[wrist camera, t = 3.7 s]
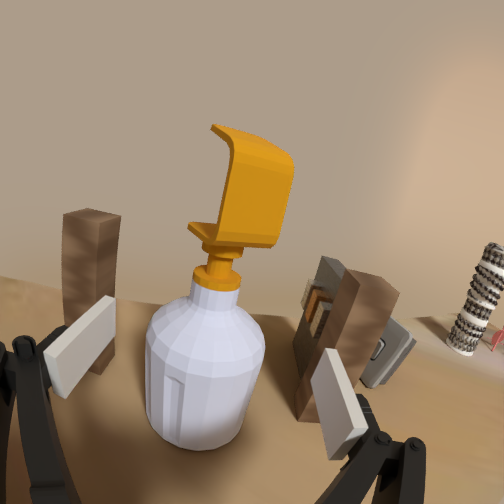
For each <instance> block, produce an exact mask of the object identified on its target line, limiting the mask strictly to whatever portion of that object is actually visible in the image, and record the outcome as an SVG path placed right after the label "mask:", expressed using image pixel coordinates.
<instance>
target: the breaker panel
mask: <svg viewBox="0 0 504 504" xmlns="http://www.w3.org/2000/svg"><path fill="white" fill-rule="evenodd" d="M344 271H345V267H344V266H343V265H342V263H341V262H340V261H339V260H337V259H333V258H329V257H325V256H322V257H321V260H320V263H319V267H318V270H317V273H316V276H315V279H314V280H311V279H308V282H307V285H306V288H305V292H304V295H303V298H302V301H301V305H302V308H303V310H304V312H303V315H302V318H301V320H300V323H299V326H298V329H297V332H296V334H295V337H294V340H293V347H294V351H295V356H296V361H297V365H298V370H299V375H300V380H302V378H303V376H304V373H305V371H306V369H307V367H308V364H309V362H310V360H311V358H312V355H313V353H314V351H315V348H316V346H317V343H318V341H319V339H320V336H321V334H322V331H323V329H324V326H325V324H326V321H327V318H328V316H329V313H330V311H331V308H332V305H333V303H334V300H335V297H336V294H337V292H338V289H339V286H340V283H341V280H342V277H343V274H344Z"/></svg>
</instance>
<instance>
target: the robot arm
mask: <svg viewBox="0 0 504 504" xmlns="http://www.w3.org/2000/svg"><path fill="white" fill-rule="evenodd" d="M115 316H116V298H113V297H110V296H107V295H105V296H104V297H103V298H102V299H100V300H99V301H98V302H97V303H96V304H95V305H94V306H92V307H91V308H90V309H89V310H88V311H87V312H86V313H84V314H83V315H82V316H81V317H80V318H79V319H78V320H77V321H76V322H74V323H73V324H72V325H71V326H70V327H68V326H65V325H63V326H60V327H58V328H56V329H55V330H54V331H53V332H51V334H49V335H48V336H47V338H45V339H44V340H43V341H41V342H40V343H39V344H38V345H37V346H36V342H35V340H34V339H33V338H32V337H30V336H26V335H23V336H18V337H16V338H15V339H14V340H13V342H12V346H13V350H14V353H13V352H9V351H6V348H5V345H4V344H3V343H2V342H1V341H0V504H6V459H7V447H8V438H9V430H10V423H11V417H12V411H13V406H14V401H15V396H17V409H18V418H19V426H20V433H21V440H22V446H23V451H24V456H25V461H26V465H27V469H28V473H29V477H30V481H31V487H30V495H31V499H32V502H33V504H82V503H81V500H80V498H79V496H78V493H77V491H76V489H75V486H74V483H73V481H72V478H71V475H70V473H69V470H68V467H67V464H66V461H65V458H64V455H63V451H62V448H61V444H60V441H59V437H58V433H57V429H56V425H55V421H54V417H53V412H52V407H51V402H50V396H49V392H48V389H49V388H50V386H51V385H52V388H53V392H54V393H55V394H57V395H59V396H60V397H62V398H64V399H66V398H67V397H68V395H69V394H70V392H71V391H72V390H73V388H74V387H75V386H76V384H77V383H78V382H79V381H80V379H81V378H82V377H83V375H84V374H85V373H86V371H87V370H88V369H89V368H90V366H91V365H92V364H93V362H94V361H95V360H96V359H97V357H98V356H99V355H100V354H101V352H102V351H103V350H104V348H105V347H106V346H107V345H108V344H109V342H110V341H111V340H112V339H113V337H114V336H115ZM310 381H311V385H312V389H313V394H314V398H315V402H316V406H317V411H318V415H319V419H320V424H321V428H322V432H323V437H324V441H325V446H326V450H327V455H328V460H343V459H344V457H345V456H346V455H347V454H348V457H349V460H348V461H347V463H346V464H345V465H344V466H343V467H342V468H341V469H340V470H341V471H340V472H339V474H338V475H337V476H336V478H335V479H334V480H333V481H332V483H331V484H330V485H329V487H328V488H327V489H326V490H325V492H324V493H323V494H322V495H321V496H320V498H319V499H318V500H317V501H316V502H315V504H360V503H361V502H362V500H363V499H364V497H365V495H366V494H367V492H368V490H369V489H370V487H371V485H372V483H373V482H374V480H375V478H376V476H377V475H378V478H377V483H376V487H375V491H374V496H373V500H372V503H371V504H423V503H424V492H425V474H426V447H425V444H424V443H423V441H421V440H420V439H418V438H416V437H411V438H408V439H407V440H406V441H405V442H404V443H402V442H397V441H392V438H391V437H390V436H389V435H388V434H387V433H385V432H383V431H380V429H379V426H378V424H377V422H376V419H375V417H374V415H373V413H372V410H371V408H370V405H369V403H368V401H367V399H366V398H365V397H364V396H363V395H362V394H355V393H354V390H353V388H352V385H351V383H350V380H349V378H348V376H347V373H346V371H345V368H344V366H343V364H342V361H341V359H340V357H339V354H338V352H337V350H336V349H330V348H325V350H324V352H323V354H322V356H321V359H320V361H319V363H318V365H317V367H316V370H315V372H314V374H313V376H312V378H311V380H310Z"/></svg>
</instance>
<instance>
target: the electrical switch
mask: <svg viewBox="0 0 504 504" xmlns="http://www.w3.org/2000/svg"><path fill="white" fill-rule="evenodd" d="M412 337H413V335H412V333H411V332H410V331H408V330H407V329H406V328H405V327H404V326H402V325H401V324H400V323H399V322H398V321H396V320H395V319H394V318H393V317H391V316H390V318H389V320H388V322H387V325H386V327H385V329H384V331H383V333H382V335H381V337H380V340H379V342H378V344H377V346H376V348H375V350H374V352H373V354H372V356H371V358H370V360H369V362H368V363H367V365H366V367H365V369H364V371H363V373H362V375H361V376H360V379H361V380H362V381H363V382H364V384H365V385H366V386H367V387H369V388H371V389H373V388H375V387H376V386H377V385H378V384H385V383H386V382H387V381H388V379H389V378H390V377H391V376H392V375H393V373H394V372H395V371H396V369H397V368H398V367H399V366H400V364H401V363H402V362H403V360H404V359H405V358H406V356H407V355H408V354H409V352H410V351H411V349H412V348H413V347H414V345H415V344H416V342H417V341H415V340H414V339H413V338H412ZM391 367H392V368H391Z"/></svg>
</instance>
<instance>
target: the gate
mask: <svg viewBox="0 0 504 504" xmlns="http://www.w3.org/2000/svg"><path fill="white" fill-rule="evenodd" d="M120 222H121V216H119V215H115V214H111V213H106V212H102V211H97V210H93V209H89V208H86V209H83V210H78V211H74V212H70V213H66V214H64V215H63V230H62V295H63V310H64V321H65V326H68V327H70V326H71V325H72V324H73V323H74V322H76V321H77V320H78V319H79V318H80V317H81V316H82V315H83V314H84V313H86V312H87V311H88V310H89V309H90V308H91V307H92V306H94V305H95V304H96V303H97V302H98V301H99V300H100V299H102V298H103V297H104V296H105V295H107V296H110V297H113V298H114V295H115V275H116V260H117V249H118V239H119V230H120ZM399 294H400V293H399V292H398V291H397V290H396V289H394V288H393V287H392V286H391V285H390V284H389V283H388V282H386V281H385V280H384V279H383V278H382V277H379V276H375V275H371V274H367V273H362V272H358V271H354V270H350V269H346V268H345V271H344V274H343V277H342V280H341V283H340V286H339V289H338V292H337V294H336V297H335V300H334V303H333V305H332V308H331V311H330V313H329V316H328V318H327V321H326V324H325V326H324V329H323V331H322V334H321V336H320V339H319V341H318V343H317V346H316V348H315V351H314V353H313V355H312V358H311V360H310V362H309V364H308V367H307V369H306V371H305V373H304V376H303V378H302V380H301V382H300V384H299V387H298V389H297V391H296V393H295V395H294V402H295V408H296V414H297V420H298V422H312V423H320V419H319V415H318V411H317V406H316V402H315V398H314V394H313V389H312V385H311V381H310V380H311V378H312V376H313V374H314V372H315V370H316V367H317V365H318V363H319V361H320V359H321V356H322V354H323V352H324V350H325V348H330V349H336V350H337V352H338V354H339V357H340V359H341V361H342V364H343V366H344V368H345V371H346V373H347V376H348V378H349V380H350V383H351V385H352V388H353V389H354V387H355V385H356V384H357V382H358V380H359V378H360V376H361V375H362V373H363V371H364V369H365V367H366V365H367V363H368V362H369V360H370V358H371V356H372V354H373V352H374V350H375V348H376V346H377V344H378V342H379V340H380V337H381V335H382V333H383V331H384V329H385V327H386V325H387V322H388V320H389V318H390V315H391V313H392V311H393V308H394V306H395V304H396V301H397V299H398V296H399ZM114 355H115V348H114V337H113V339H112V340H111V341H110V342H109V344H108V345H107V346H106V347H105V348H104V350H103V351H102V352H101V354H100V355H99V356H98V357H97V359H96V360H95V361H94V362H93V364H92V365H91V366H90V368H89V369H88V370H89V371H91V372H94V373H96V374H99V375H101V374H102V372H103V371H104V369H105V368H106V367H107V365H108V364H109V362H110V361H111V359H112V358H113V357H114Z"/></svg>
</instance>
